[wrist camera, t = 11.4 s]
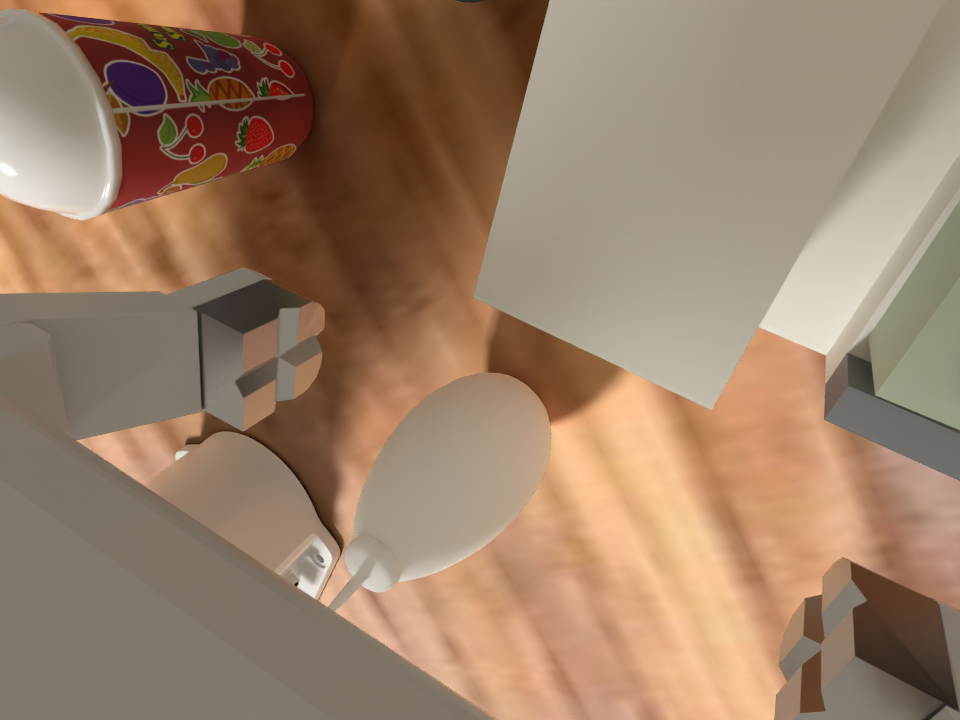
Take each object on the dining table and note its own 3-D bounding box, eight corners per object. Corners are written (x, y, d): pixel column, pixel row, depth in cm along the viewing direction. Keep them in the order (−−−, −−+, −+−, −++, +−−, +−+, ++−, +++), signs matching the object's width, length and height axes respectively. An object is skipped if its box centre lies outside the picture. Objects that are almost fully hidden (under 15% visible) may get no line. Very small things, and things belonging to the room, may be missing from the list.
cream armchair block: (939, 398, 27) (981, 536, 19) (558, 239, 32) (473, 297, 24) (1234, 41, 19) (1499, 35, 11) (667, -94, 24) (590, -159, 17)
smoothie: (302, -2, 33) (-180, -48, 18) (352, 154, 36) (-28, 237, 20) (207, 48, 38) (-246, 48, 22) (258, 184, 40) (-115, 272, 25)
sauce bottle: (523, 478, 40) (351, 715, 26) (440, 392, 40) (224, 579, 26) (604, 416, 35) (447, 665, 21) (509, 319, 36) (290, 500, 21)
